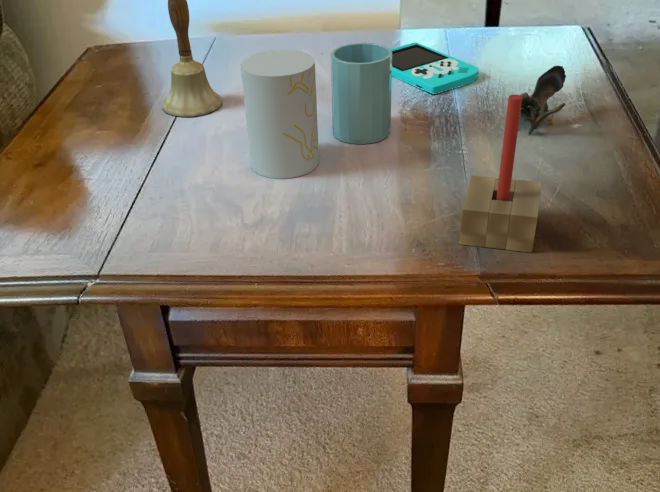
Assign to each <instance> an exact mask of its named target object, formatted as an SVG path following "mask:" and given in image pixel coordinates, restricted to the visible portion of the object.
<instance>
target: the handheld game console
mask: <svg viewBox="0 0 660 492" xmlns="http://www.w3.org/2000/svg"><path fill="white" fill-rule="evenodd" d="M389 49H390V50H391V52H392V78H395V79H397V80H399V79H400V81H401V80H402V81H401V82H403V81H405V82H404V83H406V82H407V83H406V84H408V83H410V84H413V85H415V86H417V87H419V88H422V89H424V90H426V91H428V92H430V93H438V92H441V91H445V90H449V91H451V90H450V89H452V88H455V87H458V86H461V87H463V86H462V85H464V86H466V85H465V84H467V85H469V84H468V83H470V84H472V83H474V82H476V80H478V79H477V78H479V72H480V71H479V70H480V69H479V67H477V66H475V65H473V64H471V63H468V62H467V61H463V60H461V59H458V58H456V57H454V56H451V55H449V54H447V53H443V52H441V51H438V50H436V49H434V48H431V47H429V46H426V45H424V44H421V43H420V42H416V41H414V42H410V43H406V44H402V45H399V46H396V47H391V48H389ZM473 81H474V82H473ZM471 82H472V83H471ZM410 84H409V85H410ZM458 88H459V87H458ZM455 89H456V88H455ZM452 90H453V89H452ZM445 92H446V91H445Z"/></svg>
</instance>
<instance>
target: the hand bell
mask: <svg viewBox="0 0 660 492" xmlns="http://www.w3.org/2000/svg"><path fill="white" fill-rule="evenodd" d="M167 12H168V16H169V21H170V24H171V25H172V28H173V30H174V32H175V35H176V41H177V42H176V43H177V50H178V57H179V61H178V62H176V63H175V64H174V65H172V66H171V68H170V88H169V92H168V95H167V96H166V97H165V98H164V100H163V102H162V107H161V108H162V110H163V112H164V113H166V114H168V115H171V116H173V117H178V118H179V117H180V118H194V117H196V118H197V117H200V116H201V117H202V116H206V115H208V114H212V113H213V112H216V111H217V110H219V109H220V108H221V106H222V104H223V99H222V97H221V96H220V94H219V93H217V92H216V91H215V90H214V89H213V88H212V86H211V85H210V83H209V80H208V77H207V74H206V70H205V69H206V68H205V66H204V65H203V63H202V62H199V61H197V60H194V57H193V54H192V48H191V43H190V37H189V28H190V9H189V5H188V1H187V0H167Z"/></svg>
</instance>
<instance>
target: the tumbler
mask: <svg viewBox="0 0 660 492" xmlns="http://www.w3.org/2000/svg"><path fill="white" fill-rule="evenodd" d="M390 49H391V48H390V47H387V46H386V45H384V44H379V43H373V42H356V43H355V42H354V43H348V44H343V45H340V46H338V47H336V48H334V49H332V51H331V52H330V77H331V78H330V81H331V82H330V83H331V84H330V85H331V114H332V115H331V116H332V117H331V118H332V133H333V136H334V137H335V139H337V140H339V141H341V142H344V143H347V144H352V145H368V144H369V145H370V144H375V143H377V142H381V141H383V140H385V139H386V138H387V137H389V136H390V135H391V128H392V127H391V126H392V89H393V88H392V87H393V84H392V82H393V80H392V79H393V76H392V52H391V50H390Z"/></svg>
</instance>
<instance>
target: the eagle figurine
mask: <svg viewBox="0 0 660 492" xmlns="http://www.w3.org/2000/svg"><path fill="white" fill-rule="evenodd" d="M566 78H567V75H566V70H565V67H563V65H554V66H552V67H550V68H549V69H548V70H546V71H545V72H544V73H542V75H540V76H539V77H538V78H537V79H536V83H535V86H534V89H533V93H532V94H529V93H528V92H523V93H521V94H519V95H520V96H522V104H521V110H523V111H525V114H526V116H525V117H524V116H523V118H522V120H523V121H528V122H529V123H530V125H529V130H528V133H527V134H528V136H530V135H532V133H533V132H534V131H535V130H537V128H538V127H539V126H540V124H541V123H542V121H547V122H548V123H549V124H551V125H552V126H553V125H554V121H553V114H556V113H558V112H559V111H561V110H562V109H563V108H564V107H565V106H566V102H563V103H561V104H559V105H558V106H556V107H554V108H552V109H549V105H548V100H549V99H550V98H551V97H554V95H555V94H556V93H558V92H560V91H561V90H562V89H563V87H564V83H565V82H566Z"/></svg>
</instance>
